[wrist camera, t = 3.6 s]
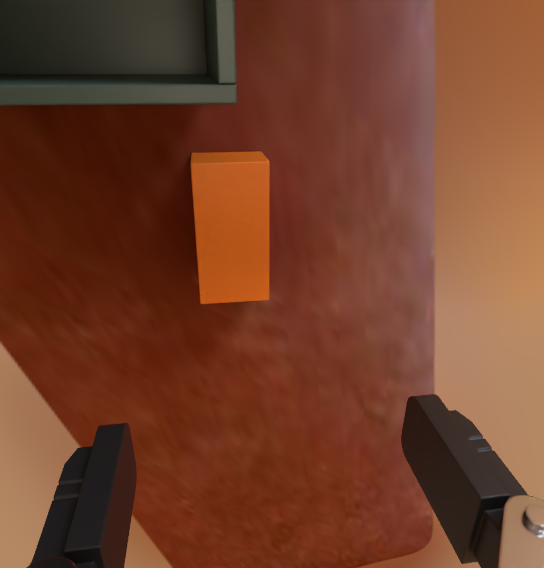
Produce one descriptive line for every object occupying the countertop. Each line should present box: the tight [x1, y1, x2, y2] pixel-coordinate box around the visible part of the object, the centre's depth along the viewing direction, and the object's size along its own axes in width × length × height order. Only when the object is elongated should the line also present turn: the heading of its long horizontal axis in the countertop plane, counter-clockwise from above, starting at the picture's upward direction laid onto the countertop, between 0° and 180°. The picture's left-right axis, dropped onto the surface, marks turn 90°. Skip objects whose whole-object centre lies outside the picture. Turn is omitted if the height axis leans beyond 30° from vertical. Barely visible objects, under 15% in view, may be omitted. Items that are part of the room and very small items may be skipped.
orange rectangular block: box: [190, 151, 270, 304], centre depth 29 cm, size 4×9×4 cm, turn 0°
